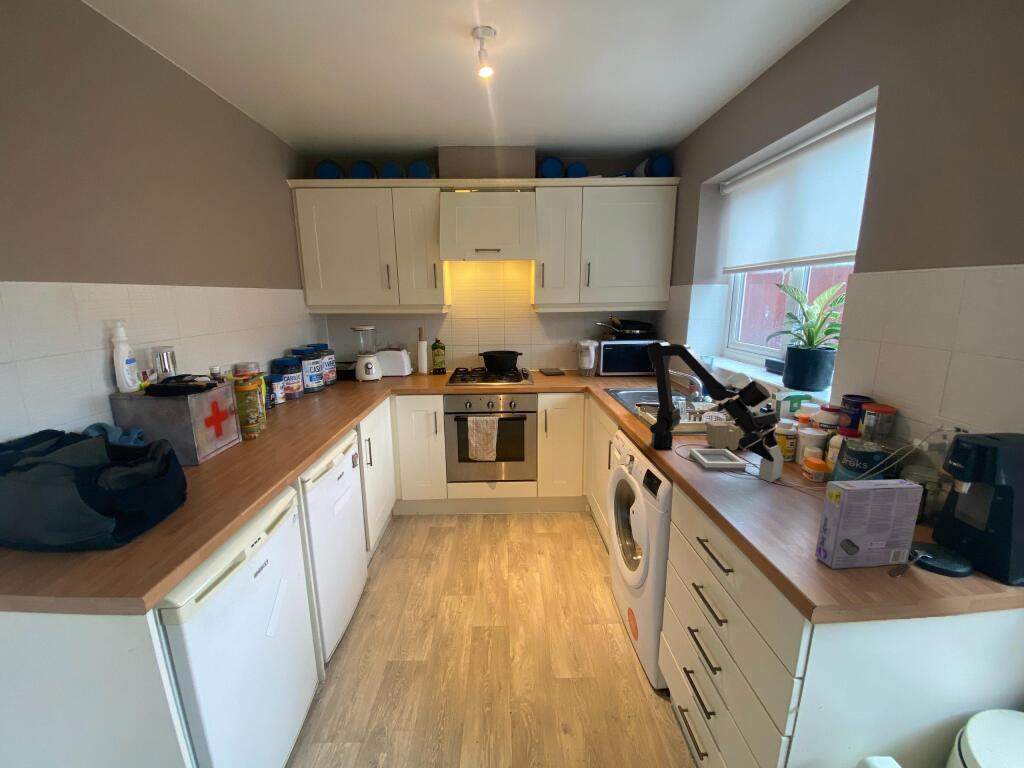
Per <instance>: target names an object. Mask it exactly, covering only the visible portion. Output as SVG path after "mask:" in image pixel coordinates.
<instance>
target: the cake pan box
mask: <svg viewBox="0 0 1024 768" xmlns="http://www.w3.org/2000/svg"><path fill="white" fill-rule="evenodd" d="M923 487H924V486H923V485H920V484H918V483H914V482H911V481H909V480H905V479H870V480H869V479H863V480H861V479H860V480H837V481H836V480H833V481H830V480H829V481H827V483H826V488H825V494H824V501H823V506H822V507H823V508H822V513H821V519H820V523H819V530H818V535H817V536H818V537H817V543H816V548H815V553H814V556H815V557H816V558H817V559H818V560H819V561H821V562H822V563H823V564H825V565H826V566H827V567H829V568H830V569H831V570H837V569H846V568H847V569H849V568H860V569H861V568H874V567H876V568H877V567H880V566H889V565H890V566H893V565H907V564H908V559H909V556H910V552H911V551H910V550H911V547H912V543H913V539H914V534H915V533H914V532H915V527H916V522H917V519H918V518H917V517H918V514H919V510H920V505H921V500H922V496H923V493H924V488H923ZM906 563H907V564H906Z"/></svg>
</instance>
